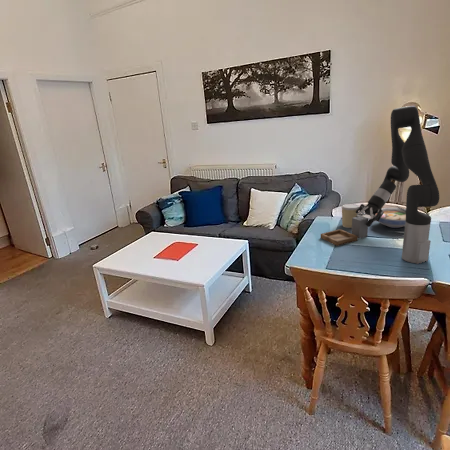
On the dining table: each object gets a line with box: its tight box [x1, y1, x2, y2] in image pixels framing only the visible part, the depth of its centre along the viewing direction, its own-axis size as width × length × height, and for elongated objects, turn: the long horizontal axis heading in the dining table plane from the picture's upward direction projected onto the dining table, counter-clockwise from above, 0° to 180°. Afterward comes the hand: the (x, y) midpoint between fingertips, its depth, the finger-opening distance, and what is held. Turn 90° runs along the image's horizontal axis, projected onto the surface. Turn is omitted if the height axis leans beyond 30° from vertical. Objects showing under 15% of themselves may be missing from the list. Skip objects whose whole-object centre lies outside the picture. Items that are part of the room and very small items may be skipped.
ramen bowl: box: [376, 205, 406, 229], centre depth 179 cm, size 25×23×8 cm
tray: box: [320, 228, 359, 247], centre depth 168 cm, size 13×13×2 cm
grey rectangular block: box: [351, 215, 369, 240], centre depth 169 cm, size 6×6×11 cm
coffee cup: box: [341, 203, 360, 229], centre depth 184 cm, size 9×9×12 cm
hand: (361, 223), depth 169 cm, fingers open, 8 cm apart
